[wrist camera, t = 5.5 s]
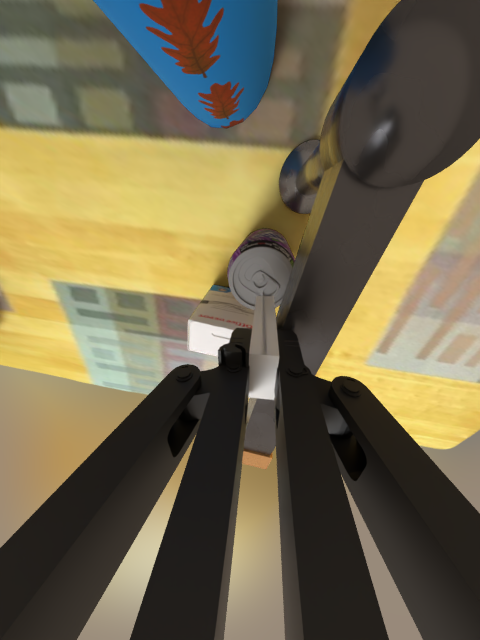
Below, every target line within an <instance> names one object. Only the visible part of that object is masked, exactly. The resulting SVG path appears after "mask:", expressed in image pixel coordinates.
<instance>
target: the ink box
mask: <svg viewBox="0 0 480 640" xmlns="http://www.w3.org/2000/svg"><path fill="white" fill-rule="evenodd" d="M253 318H254V310H252V309H249V308H247V307H245V306H243V305H242V304H240V303H239V302H238V301H237V300H236V299H235V297H234V296H233V294H232V292H231V290H230V288H228V287H223V286H218V285H213V286H212V287H211V289H210V290H209V291H208V293H207V294H206V296H205V297H204V298H203V300H202V301H201V302H200V304H199V305H198V307H197V308H196V310H195V311H194V312H193V314H192V315H191V317H190V318H189V320H188V350H191V351H196V352H200V353H204V354H209V355H213V356H217V357H218V349H219V348H220V347H221V346H223V345H224V344H227V343H229V341H230V338H231V334H232V332H233V331H234V330H235V329H236V328H252V326H253Z"/></svg>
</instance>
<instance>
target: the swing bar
mask: <svg viewBox="0 0 480 640" xmlns="http://www.w3.org/2000/svg"><path fill="white" fill-rule="evenodd" d="M479 138H480V0H401V1H400V2H399V3H398V4H397V5H396V6H395V7H394V8H393V9H392V10H391V12H390V13H389V14H388V15H387V17H386V18H385V19H384V20H383V22H382V23H381V24H380V26H379V27H378V29H377V30H376V32H375V33H374V35H373V36H372V38H371V39H370V41H369V43H368V44H367V46H366V48H365V50H364V51H363V53H362V55H361V56H360V58H359V60H358V61H357V63H356V65H355V66H354V68H353V70H352V72H351V73H350V75H349V77H348V78H347V80H346V82H345V83H344V85H343V87H342V88H341V90H340V92H339V93H338V95H337V97H336V99H335V100H334V102H333V104H332V106H331V107H330V110H329V112H328V114H327V116H326V119H325V122H324V125H323V129H322V133H321V139H320V159H321V164H322V167H323V170H324V174H323V177H322V180H321V183H320V186H319V189H318V192H317V195H316V198H315V201H314V204H313V207H312V211H311V214H310V217H309V220H308V223H307V226H306V229H305V232H304V235H303V238H302V241H301V244H300V247H299V250H298V253H297V256H296V259H295V262H294V265H293V268H292V271H291V274H290V277H289V280H288V283H287V286H286V289H285V292H284V295H283V298H282V302H281V305H280V308H279V311H278V314H277V317H276V325H277V329H279V330H292V331H293V332H294V333H295V334H296V335H297V337H298V342H299V345H300V349H301V353H302V357H303V361H304V365H306V366H307V367H308V368H309V369H310V371H311V373H312V374H313V375H314V376H315V375H316V373H317V371H318V369H319V367H320V366H321V364H322V362H323V360H324V359H325V357H326V355H327V353H328V351H329V350H330V348H331V346H332V344H333V342H334V341H335V339H336V337H337V335H338V334H339V332H340V330H341V328H342V326H343V325H344V323H345V321H346V319H347V317H348V316H349V314H350V312H351V310H352V308H353V307H354V305H355V303H356V301H357V300H358V298H359V296H360V294H361V292H362V291H363V289H364V287H365V285H366V283H367V282H368V280H369V278H370V276H371V275H372V273H373V271H374V269H375V267H376V266H377V264H378V262H379V260H380V258H381V257H382V255H383V253H384V251H385V249H386V248H387V246H388V244H389V242H390V241H391V239H392V237H393V235H394V233H395V232H396V230H397V228H398V226H399V224H400V223H401V221H402V219H403V217H404V215H405V214H406V212H407V210H408V208H409V207H410V205H411V203H412V201H413V199H414V198H415V196H416V194H417V192H418V190H419V189H420V187H421V185H422V183H423V182H424V180H425V179H428V178H430V177H432V176H434V175H436V174H437V173H439V172H441V171H442V170H444V169H445V168H447V167H448V166H450V165H451V164H453V163H454V162H455V161H456V160H458V159H459V158H460V157H461V156H462V155H464V154H465V153H466V152H467V151H468V150H469V149H470V148H471V147H472V146H473V145H474V144H475V143H476V142H477V141H478V140H479ZM274 409H275V397H274V400H270V399H260V398H250V399H249V402H248V412H247V421H246V431H245V440H244V450H243V459H242V463H243V464H246V465H250V466H255V467H258V468H262V469H267V467H268V465H269V463H270V462H271V460H272V452H273V450H274V448H275V446H276V434H275V421H273V417H274Z"/></svg>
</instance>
